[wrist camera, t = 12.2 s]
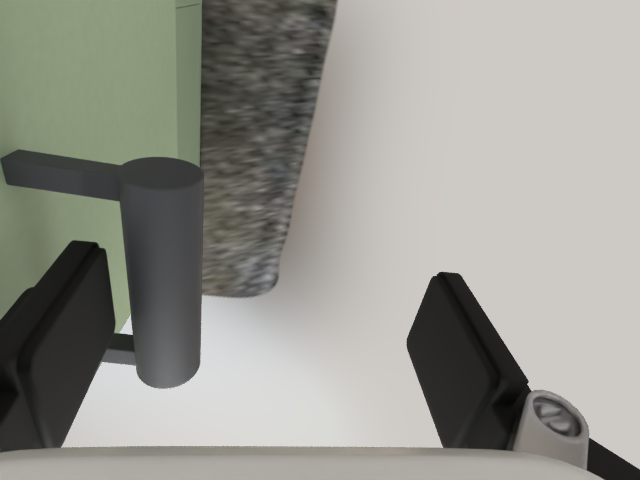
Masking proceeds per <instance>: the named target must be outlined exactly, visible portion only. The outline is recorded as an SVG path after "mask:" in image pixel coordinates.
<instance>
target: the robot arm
mask: <svg viewBox="0 0 640 480" xmlns="http://www.w3.org/2000/svg"><path fill="white" fill-rule="evenodd" d="M115 326H116V320H115V313H114V305H113V298H112V290H111V283H110V275H109V267H108V260H107V253H106V250H105V249H104V248H100V247H99V244H98V243H97V242H90V241H78V240H73V241H71V242H70V243H69V244H68V245H67V247H66V248H65V249H64V250H63V252H62V253H61V254H60V255H59V257H58V258H57V259H56V260H55V262H54V263H53V264H52V265H51V267H50V268H49V269H48V270H47V272H46V273H45V274H44V275H43V277H42V278H41V279H40V280H39V282H38V283H37V284H36V285H35V287H30V288H28V289H26V290H25V291H24V292H23V293H22V294H21V295H20V297H19V298H18V299H17V300H16V302H15V303H14V304H13V305H12V306H11V308H10V309H9V310H8V311H7V313H6V314H5V315H4V316H3V317H2V319H1V320H0V480H640V470H639V469H638V468H636V467H635V466H633V465H631V464H630V463H628V462H627V461H625V460H624V459H622V458H620V457H619V456H617V455H616V454H614V453H613V452H611V451H609V450H608V449H606V448H605V447H603V446H602V445H600V444H598V443H597V442H595V441H594V440H592V439H590V438H589V429H588V425H587V423H586V421H585V419H584V417H583V416H582V415H581V414H580V412H579V411H578V410H577V409H576V408H575V407H574V406H573V405H572V404H571V403H570V402H568V401H567V400H565V399H564V398H562V397H561V396H559V395H557V394H554V393H552V392H549V391H545V390H534V391H531V390H530V388H529V386H528V385H527V383H528V382H529V381H528V379H527V378H526V376H525V375H524V373H523V372H522V370H521V369H520V367H519V365H518V364H517V362H516V361H515V359H514V358H513V356H512V354H511V353H510V351H509V350H508V348H507V347H506V345H505V344H504V342H503V341H502V339H501V338H500V336H499V334H498V333H497V331H496V330H495V328H494V326H493V325H492V323H491V322H490V320H489V319H488V317H487V316H486V314H485V312H484V311H483V309H482V308H481V306H480V305H479V303H478V302H477V300H476V298H475V297H474V295H473V294H472V292H471V291H470V289H469V287H468V286H467V284H466V283H465V281H464V280H463V278H462V276H461V275H460V274H458V273H448V272H439V273H438V274H437V276H433V277H432V279H431V280H430V283H429V285H428V288H427V290H426V293H425V295H424V298H423V300H422V303H421V305H420V308H419V310H418V313H417V315H416V318H415V320H414V323H413V325H412V328H411V330H410V332H409V335H408V338H407V349H408V352H409V355H410V358H411V360H412V363H413V366H414V369H415V371H416V374H417V377H418V380H419V383H420V385H421V388H422V390H423V394H424V396H425V399H426V402H427V405H428V407H429V410H430V413H431V416H432V418H433V421H434V424H435V427H436V429H437V432H438V435H439V437H440V440H441V443H442V446H443V448H405V447H256V446H255V447H254V446H253V447H251V446H243V447H240V446H233V447H232V446H230V447H229V446H222V447H220V446H219V447H218V446H217V447H216V446H215V447H213V446H211V447H210V446H198V447H197V446H195V447H194V446H188V447H187V446H184V447H183V446H180V447H179V446H170V447H169V446H167V447H166V446H164V447H163V446H162V447H161V446H155V447H153V446H151V447H148V446H147V447H146V446H145V447H144V446H141V447H139V446H138V447H80V448H79V447H74V448H73V447H72V448H61V446H62V444H63V442H64V440H65V438H66V436H67V434H68V432H69V429H70V427H71V425H72V423H73V421H74V419H75V417H76V414H77V412H78V410H79V408H80V406H81V404H82V401H83V399H84V397H85V395H86V393H87V391H88V388H89V386H90V384H91V382H92V380H93V378H94V375H95V373H96V371H97V369H98V367H99V365H100V363H101V360H102V358H103V356H104V354H105V352H106V350H107V348H108V345H109V343H110V341H111V339H112V337H113V334H114V331H115Z"/></svg>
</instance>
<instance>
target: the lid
mask: <svg viewBox="0 0 640 480" xmlns="http://www.w3.org/2000/svg"><path fill="white" fill-rule="evenodd" d="M203 211H204V173H203V171H202V170H201V168H199V167H198V166H197V165H195V164H193V163H191V162H188V161H185V160H181V159H178V145H177V78H176V10H175V0H0V320H1V319H2V317H3V316H4V315H5V314H6V313H7V311H8V310H9V309H10V308H11V306H12V305H13V304H14V303H15V302H16V300H17V299H18V298H19V297H20V295H21V294H22V293H23V292H24V291H25V290H26V289H28V288H30V287H35V285H36V284H37V283H38V282H39V280H40V279H41V278H42V277H43V275H44V274H45V273H46V272H47V270H48V269H49V268H50V267H51V265H52V264H53V263H54V262H55V260H56V259H57V258H58V257H59V255H60V254H61V253H62V252H63V250H64V249H65V248H66V247H67V245H68V244H69V243H70V242H71V241H73V240H78V241H90V242H97V243H98V244H99V247H100V248H104V249H105V250H106V253H107V260H108V267H109V275H110V283H111V290H112V298H113V305H114V313H115V320H116V326H115V331H114V334H113V337H112V339H111V341H110V343H109V345H108V348H107V350H106V352H105V354H104V356H103V358H102V360H101V363H102V362H108V363H117V364H127V365H135V366H136V370H137V374H138V376H139V378H140V379H141V380H142V381H143V382H144V383H145V384H147V385H148V386H151V387H154V388H159V389H168V388H174V387H177V386H180V385H182V384H184V383H186V382H187V381H189V380H190V379H191V378H192V377H193V376H194V375H195V374H196V372H197V370H198V368H199V366H200V347H201V300H202V257H203ZM130 314H131V320H132V330H133V335H128V334H119V333H120V331H121V329H122V328H123V326H124V324H125V323H126V321H127V319H128V318H129V316H130ZM101 363H100V365H101ZM100 365H99V366H100ZM98 368H99V367H98ZM97 370H98V369H97ZM96 372H97V371H96Z"/></svg>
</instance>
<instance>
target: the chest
mask: <svg viewBox="0 0 640 480" xmlns="http://www.w3.org/2000/svg"><path fill="white" fill-rule="evenodd" d="M175 10H176V78H177V145H178V159H181V160H185V161H188V162H191V163H193V164H195V165H197V166H198V167H199V168H200V110H201V45H202V0H175Z"/></svg>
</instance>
